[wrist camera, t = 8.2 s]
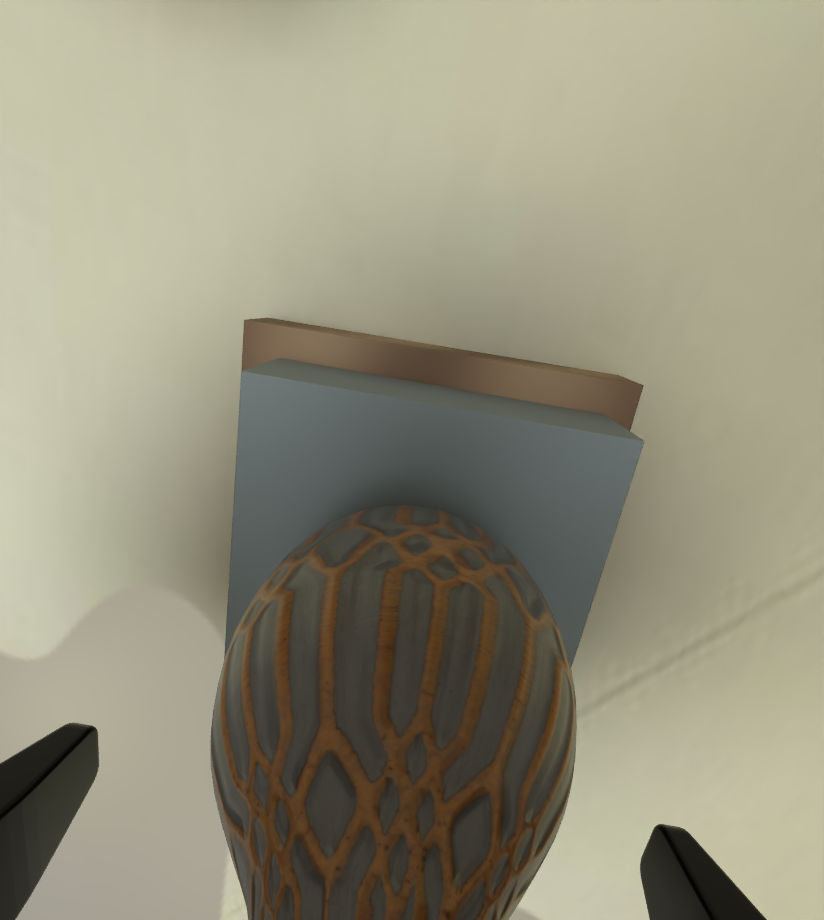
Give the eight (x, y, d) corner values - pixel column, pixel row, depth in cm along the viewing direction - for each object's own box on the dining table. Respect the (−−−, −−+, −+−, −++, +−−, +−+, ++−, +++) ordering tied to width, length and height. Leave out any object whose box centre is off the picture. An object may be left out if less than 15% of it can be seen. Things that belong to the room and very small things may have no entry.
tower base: (610, 372, 18) (643, 385, 15) (533, 651, 21) (547, 705, 18) (276, 317, 18) (244, 319, 15) (255, 605, 21) (227, 652, 18)
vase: (590, 590, 13) (830, 1060, 5) (413, 727, 15) (377, 1242, 7) (405, 413, 12) (325, 649, 4) (237, 584, 14) (-64, 997, 6)
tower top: (605, 414, 15) (644, 441, 12) (527, 680, 18) (544, 751, 15) (278, 357, 15) (241, 371, 12) (256, 633, 18) (222, 695, 15)
